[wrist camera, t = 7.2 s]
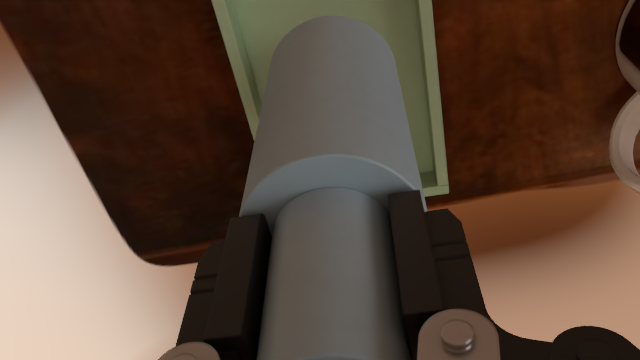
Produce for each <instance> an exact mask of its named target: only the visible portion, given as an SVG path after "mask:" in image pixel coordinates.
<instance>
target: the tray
mask: <svg viewBox="0 0 640 360" xmlns="http://www.w3.org/2000/svg"><path fill="white" fill-rule="evenodd" d="M211 1H212V4H213V8H214V11H215V14H216V17H217V21H218V24H219V27H220V31H221V34H222V37H223V40H224V44H225V47H226V50H227V54H228V57H229V60H230V63H231V67H232V70H233V73H234V77H235V80H236V83H237V86H238V90H239V93H240V96H241V100H242V103H243V106H244V109H245V113H246V116H247V119H248V123H249V126H250V129H251V133H252V136H253V139H254V141H255V137H256V132H257V127H258V122H259V117H260V112H261V107H262V102H263V98H264V93H265V88H266V83H267V78H268V73H269V68H270V64H271V59H272V56H273V54H274V51H275V49H276V48H277V46H278V44H279V43H280V41H281V40H282V39H283V37H284V36H285V35H286V34H287V33H289V32H290V31H291V30H292V29H293V28H295V27H296V26H298V25H300V24H301V23H303V22H305V21H308V20H310V19H314V18H317V17H322V16H344V17H349V18H353V19H356V20H359V21H361V22H363V23H365V24H367V25H369V26H370V27H372V28H373V29H374V30H376V31H377V32H378V33H379V34H380V35H381V36H382V37H383V38H384V40H385V41H386V42H387V44H388V45H389V47H390V49H391V51H392V53H393V56H394V59H395V63H396V68H397V73H398V77H399V82H400V86H401V91H402V96H403V100H404V105H405V110H406V114H407V119H408V124H409V128H410V133H411V138H412V142H413V147H414V151H415V156H416V161H417V165H418V170H419V175H420V179H421V184H422V189H423V193H424V197H426V196H433V195H440V194H447V193H449V185H448V174H447V163H446V152H445V141H444V130H443V119H442V108H441V97H440V86H439V76H438V65H437V54H436V43H435V32H434V21H433V10H432V0H211Z"/></svg>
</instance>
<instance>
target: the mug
mask: <svg viewBox="0 0 640 360" xmlns="http://www.w3.org/2000/svg"><path fill="white" fill-rule="evenodd" d="M616 57H617V62H618V65H619V68H620V70H621V73H622V75H623V76H624V77H625V79H626V80H627V82H628V83H629V84H630V85H631V86H632V87H633V88H634V89H635V91H636V93H635V94H634V95H633V96H632V97H631V98H630V99H629V100H628V101H627V102H626V103H625V105H624V106H623V107H622V108H621V110H620V112H619V113H618V115H617V117H616V119H615V121H614V123H613V127H612V130H611V133H610V139H609V157H610V161H611V164H612V167H613V169H614V171H615V173H616V174H617V176H618V177H619V178H620V179H621V180H622V181H623V182H624V183H625V184H627V185H628V186H629V187H631V188H632V189H633V190H635V191H637V192H638V193H639V194H640V176H639V174H638V172H637V171H636V168H635V166H634V161H633V145H634V141H635V138H636V136H637V134H638V132H639V130H640V0H629V2H628V4H627V6H626V8H625V9H624V11H623V13H622V16H621V19H620V22H619V25H618V30H617V35H616Z"/></svg>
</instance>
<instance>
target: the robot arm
mask: <svg viewBox="0 0 640 360" xmlns="http://www.w3.org/2000/svg"><path fill="white" fill-rule="evenodd" d="M388 203H389V210H390V218H391V226H392V233H393V241H394V249H395V256H396V264H397V272H398V279H399V287H400V295H401V302H402V310H403V317H404V322H405V328H406V334H407V339H408V345H409V350H410V354H411V357H412V360H640V350H639V349H638V348H637V347H636V346H634V345H633V344H632V343H631V342H630V341H628V340H627V339H625V338H624V337H623V336H621V335H619V334H617V333H616V332H613V331H610V330H608V329H605V328H600V327H594V326H581V327H575V328H571V329H568V330H566V331H564V332H562V333H561V334H559V335H558V336H557V337H556V338H555V339H554V341H553V342H544V341H538V340H532V339H526V338H521V337H518V336H515V335H513V334H511V333H508V332H506V331H505V330H503V329H501V328H500V327H499V326H498V325H497V324H495V323H494V321H493V320H492V319H491V318H490V316H489V315H488V313H487V310H486V308H485V304H484V301H483V297H482V294H481V290H480V287H479V283H478V280H477V276H476V273H475V269H474V266H473V262H472V259H471V256H470V252H469V248H468V245H467V242H466V238H465V234H464V231H463V228H462V224H461V222H460V221H459V220H458V219H457V218H456V217H455V216H454V215H453V214H452V213H451V212H450V211H449V210H448V209H440V210H433V211H427V212H424V208H423V203H422V198H421V194H420V190H413V191H407V192H400V193H394V194H388ZM271 240H272V236H271V233H270V229H269V226H268V223H267V220H266V217H265V215H264V214H263V213H261V214H255V215H248V216H242V217H235V218H231V219H230V222H229V226H228V230H227V234H226V239H225V241H222V242H216V243H211V245H210V246H209V247H208V249H207V250H206V251H205V253H204V254H203V255H202V256H201V258H200V259H199V261H198V265H197V269H196V273H195V276H194V278H195V281H193V284H192V287H191V295H189V299H188V302H187V306H186V310H185V313H184V317H183V321H182V325H181V328H180V332H179V336H178V339H177V343H176V347H174V348H173V349H171V350H169V351H167V352H166V353H165V354H163V356H161V357H160V359H158V360H256V359H257V351H258V343H259V335H260V327H261V319H262V311H263V304H264V296H265V288H266V280H267V272H268V264H269V256H270V248H271Z"/></svg>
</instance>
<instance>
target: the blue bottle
mask: <svg viewBox="0 0 640 360" xmlns="http://www.w3.org/2000/svg"><path fill="white" fill-rule="evenodd" d="M413 190H420V194H421V198H422V203H423V208H424V212H427V207H426V203H425V198H424V193H423V189H422V184H421V179H420V175H419V170H418V165H417V161H416V156H415V151H414V147H413V142H412V138H411V133H410V128H409V124H408V119H407V114H406V110H405V105H404V100H403V96H402V91H401V86H400V82H399V77H398V73H397V68H396V63H395V59H394V56H393V53H392V51H391V49H390V47H389V45H388V44H387V42H386V41H385V40H384V38H383V37H382V36H381V35H380V34H379V33H378V32H377V31H376V30H374V29H373V28H372V27H370V26H369V25H367V24H365V23H363V22H361V21H359V20H356V19H353V18H349V17H344V16H322V17H317V18H314V19H310V20H308V21H305V22H303V23H301V24H300V25H298V26H296V27H295V28H293V29H292V30H291V31H290V32H289V33H287V34H286V35H285V36H284V37H283V39H282V40H281V41H280V43H279V44H278V46H277V48H276V49H275V51H274V54H273V56H272V59H271V64H270V68H269V73H268V78H267V83H266V88H265V93H264V98H263V102H262V107H261V112H260V117H259V122H258V127H257V132H256V137H255V141H254V146H253V151H252V156H251V161H250V166H249V171H248V176H247V181H246V185H245V190H244V195H243V200H242V205H241V210H240V215H239V217H242V216H248V215H255V214H261V213H263V214H264V215H265V217H266V220H267V223H268V226H269V229H270V233H271V236H272V240H271V248H270V256H269V264H268V272H267V280H266V288H265V296H264V304H263V311H262V319H261V327H260V335H259V343H258V351H257V359H256V360H412V357H411V354H410V350H409V345H408V339H407V334H406V328H405V322H404V317H403V310H402V302H401V295H400V287H399V279H398V272H397V264H396V256H395V249H394V241H393V233H392V226H391V218H390V210H389V203H388V194H394V193H400V192H407V191H413Z"/></svg>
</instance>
